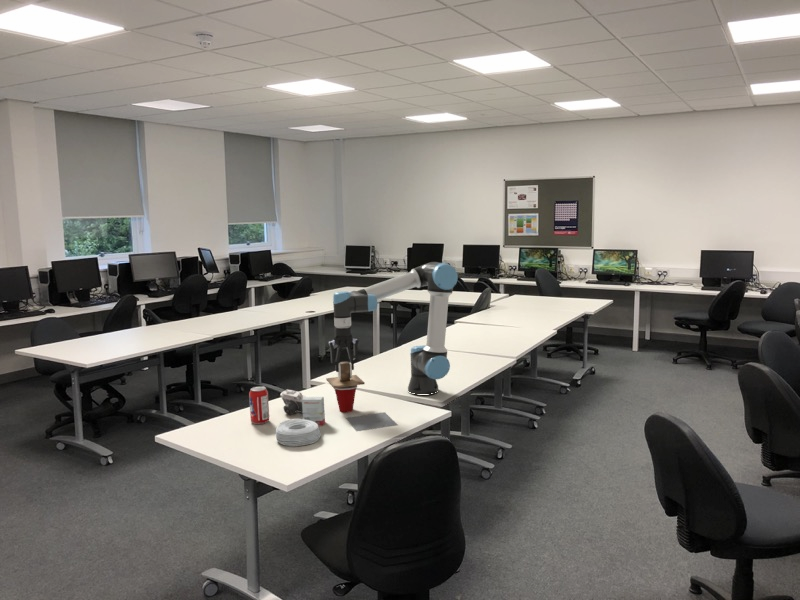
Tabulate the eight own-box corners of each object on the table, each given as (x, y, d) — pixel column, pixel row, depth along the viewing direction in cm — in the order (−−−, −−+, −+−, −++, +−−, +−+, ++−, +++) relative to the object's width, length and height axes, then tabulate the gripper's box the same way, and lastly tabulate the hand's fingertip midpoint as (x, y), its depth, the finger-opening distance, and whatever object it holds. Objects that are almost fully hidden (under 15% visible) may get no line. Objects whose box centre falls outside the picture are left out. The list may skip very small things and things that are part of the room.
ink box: (325, 423, 255) (324, 396, 254) (323, 427, 251) (321, 399, 249) (305, 422, 256) (304, 396, 255) (303, 426, 252) (301, 399, 250)
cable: (281, 431, 247) (281, 417, 246) (324, 431, 246) (323, 417, 245) (271, 448, 230) (270, 432, 229) (316, 447, 229) (315, 432, 228)
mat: (384, 413, 266) (384, 412, 266) (398, 426, 249) (398, 425, 249) (345, 418, 260) (345, 417, 260) (356, 432, 243) (356, 431, 243)
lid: (356, 376, 277) (355, 357, 276) (364, 384, 264) (363, 364, 263) (326, 380, 273) (325, 361, 271) (333, 387, 260) (332, 368, 258)
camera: (292, 403, 280) (283, 385, 276) (314, 408, 269) (305, 390, 265) (278, 416, 274) (269, 398, 270) (300, 421, 263) (291, 403, 259)
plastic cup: (359, 407, 275) (358, 381, 274) (357, 414, 265) (356, 388, 263) (335, 407, 276) (334, 382, 274) (332, 415, 265) (331, 389, 263)
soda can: (266, 425, 255) (264, 390, 253) (248, 425, 255) (246, 391, 253) (271, 418, 262) (269, 385, 260) (253, 419, 263) (251, 385, 261)
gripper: (325, 329, 259) (327, 382, 262) (364, 326, 264) (366, 377, 268) (321, 326, 266) (324, 378, 269) (359, 323, 271) (361, 373, 275)
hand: (345, 377), depth 268 cm, fingers closed on lid, 4 cm apart
